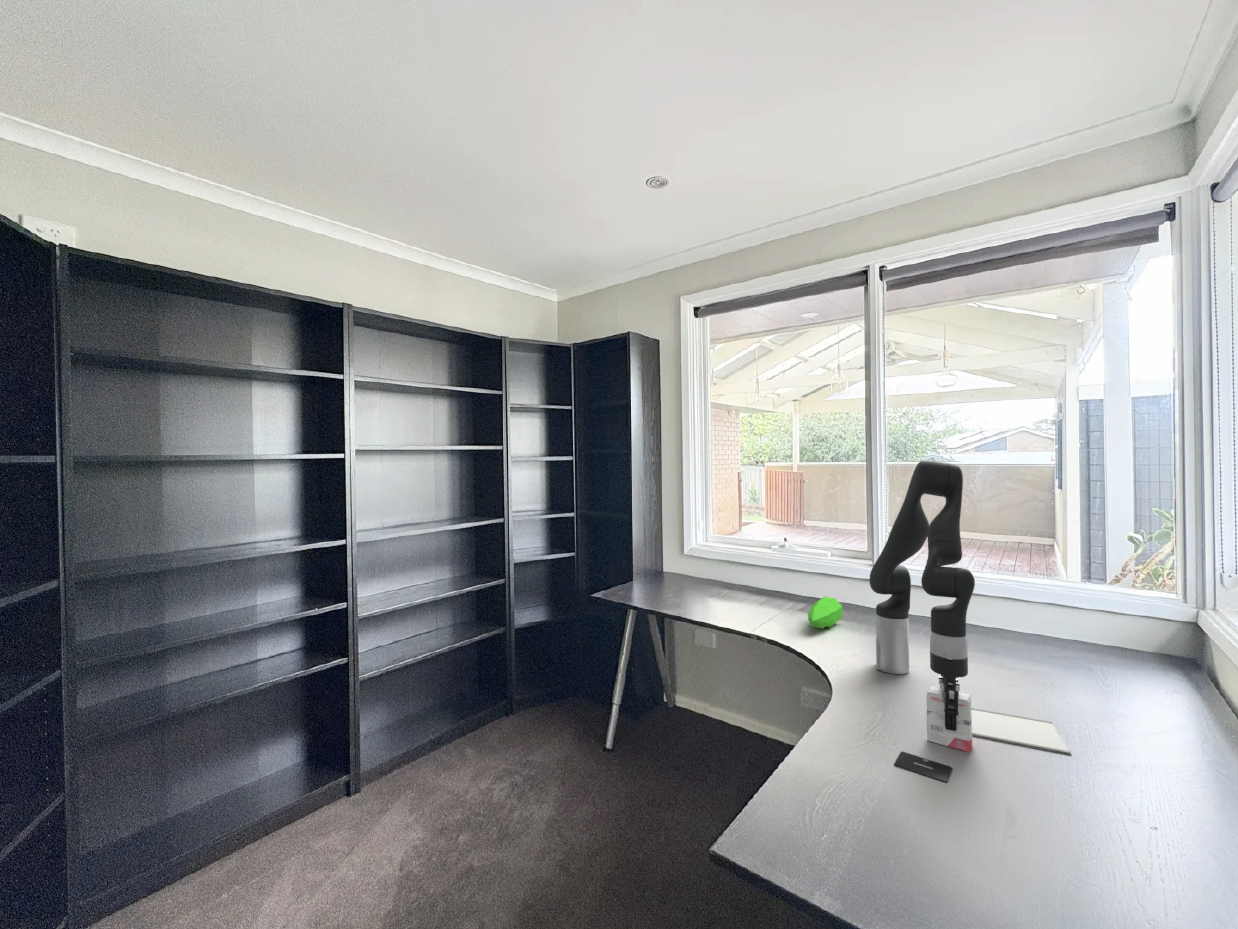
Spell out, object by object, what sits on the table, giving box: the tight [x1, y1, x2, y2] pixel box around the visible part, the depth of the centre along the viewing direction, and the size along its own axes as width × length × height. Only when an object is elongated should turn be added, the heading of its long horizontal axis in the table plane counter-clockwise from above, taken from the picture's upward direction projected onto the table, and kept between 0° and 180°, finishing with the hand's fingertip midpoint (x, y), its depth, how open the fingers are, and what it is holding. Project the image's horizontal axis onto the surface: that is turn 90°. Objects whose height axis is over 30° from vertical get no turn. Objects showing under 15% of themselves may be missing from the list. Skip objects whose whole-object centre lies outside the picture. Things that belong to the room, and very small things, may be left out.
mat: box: [971, 707, 1072, 756], centre depth 130 cm, size 24×16×1 cm, turn 62°
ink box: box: [926, 685, 973, 753], centre depth 123 cm, size 9×5×12 cm, turn 50°
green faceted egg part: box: [807, 596, 844, 629], centre depth 211 cm, size 11×12×30 cm
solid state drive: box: [893, 751, 953, 784], centre depth 113 cm, size 7×10×1 cm
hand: (949, 723), depth 123 cm, fingers closed on ink box, 5 cm apart
